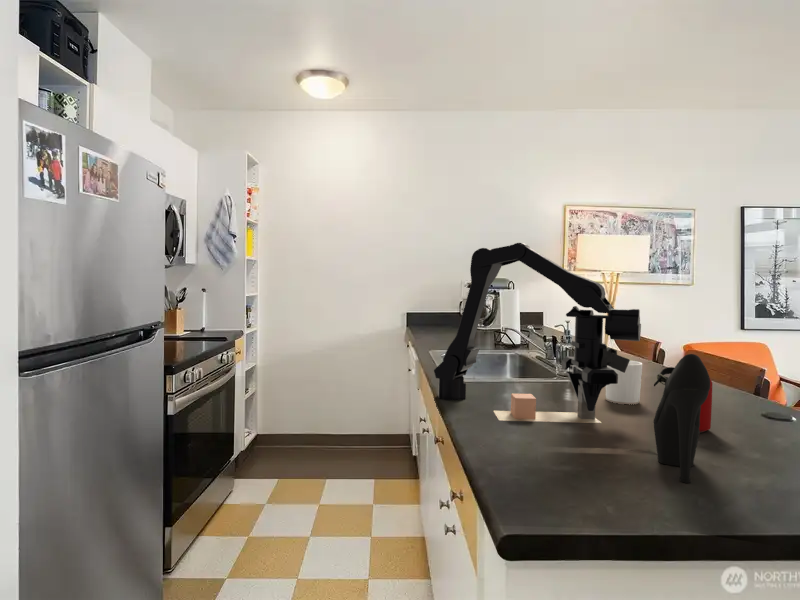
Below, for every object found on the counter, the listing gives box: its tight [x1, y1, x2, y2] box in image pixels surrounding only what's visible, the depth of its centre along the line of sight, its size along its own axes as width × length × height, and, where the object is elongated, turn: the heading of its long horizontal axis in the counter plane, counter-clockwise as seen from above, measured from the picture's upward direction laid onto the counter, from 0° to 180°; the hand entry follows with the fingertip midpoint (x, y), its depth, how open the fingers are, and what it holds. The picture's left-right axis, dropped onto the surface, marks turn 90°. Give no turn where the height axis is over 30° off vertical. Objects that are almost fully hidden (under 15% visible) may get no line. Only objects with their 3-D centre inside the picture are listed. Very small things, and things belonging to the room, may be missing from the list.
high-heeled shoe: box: [653, 353, 711, 484], centre depth 82 cm, size 8×19×20 cm, turn 161°
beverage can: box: [699, 378, 713, 433], centre depth 104 cm, size 7×7×12 cm
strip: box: [493, 385, 603, 424], centre depth 109 cm, size 22×8×8 cm, turn 88°
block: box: [510, 393, 537, 419], centre depth 109 cm, size 4×4×4 cm
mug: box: [605, 359, 643, 406], centre depth 129 cm, size 11×9×10 cm
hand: (586, 407), depth 109 cm, fingers open, 5 cm apart
